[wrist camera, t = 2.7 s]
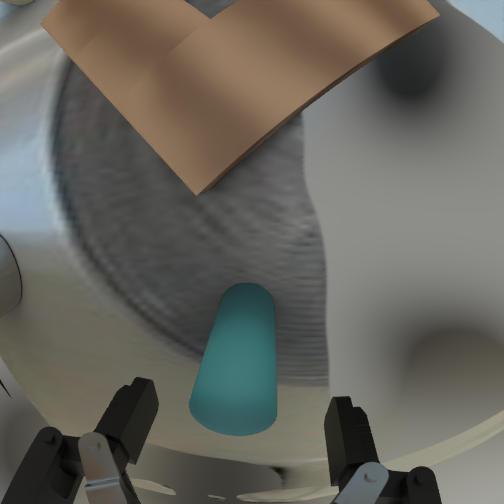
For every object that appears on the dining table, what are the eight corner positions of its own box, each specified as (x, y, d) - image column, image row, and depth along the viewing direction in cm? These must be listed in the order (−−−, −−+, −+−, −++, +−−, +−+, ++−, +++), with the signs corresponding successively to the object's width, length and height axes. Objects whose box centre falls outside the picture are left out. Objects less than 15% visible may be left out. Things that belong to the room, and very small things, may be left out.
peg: (245, 337, 21) (231, 443, 12) (209, 303, 21) (171, 404, 11) (285, 310, 20) (294, 416, 11) (249, 272, 20) (233, 370, 10)
